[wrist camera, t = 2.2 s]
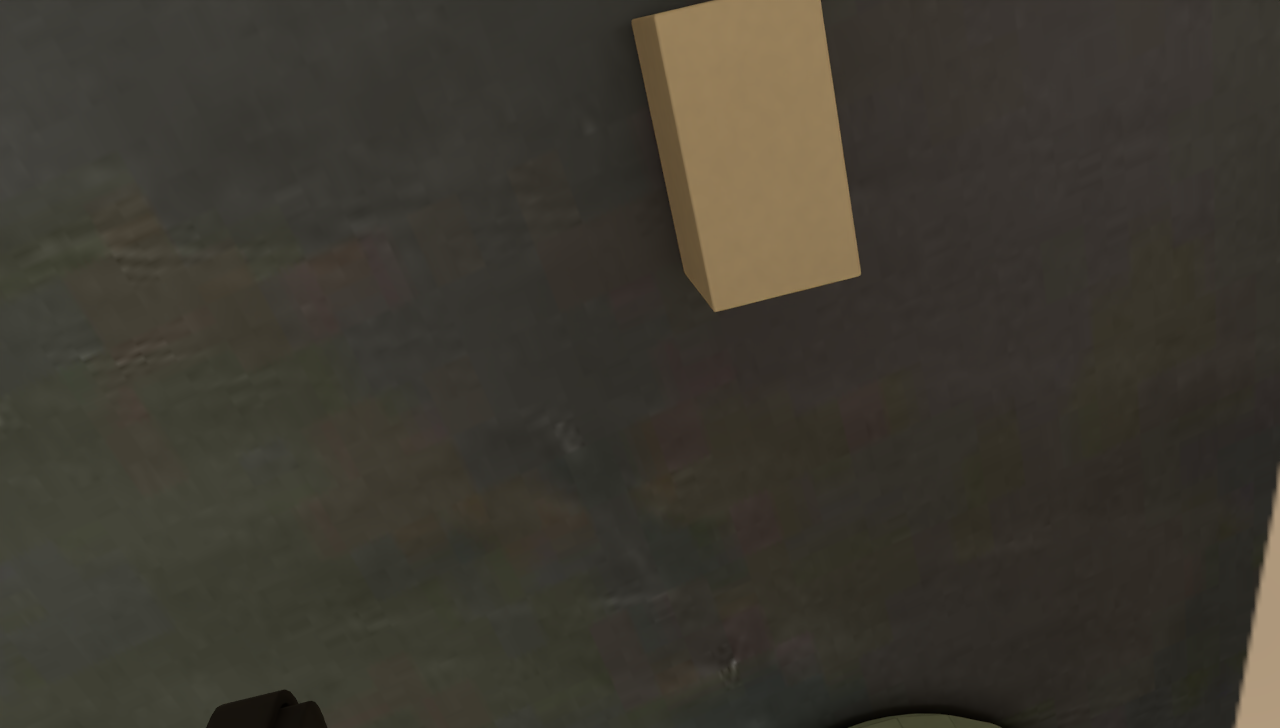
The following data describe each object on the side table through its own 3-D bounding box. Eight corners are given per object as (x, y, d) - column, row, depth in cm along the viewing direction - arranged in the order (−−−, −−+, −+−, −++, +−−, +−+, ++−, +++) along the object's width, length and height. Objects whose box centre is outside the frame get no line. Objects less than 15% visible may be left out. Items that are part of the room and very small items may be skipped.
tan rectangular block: (630, 19, 24) (653, 14, 20) (768, -13, 24) (817, -24, 20) (683, 274, 26) (714, 313, 22) (811, 242, 26) (862, 276, 22)
